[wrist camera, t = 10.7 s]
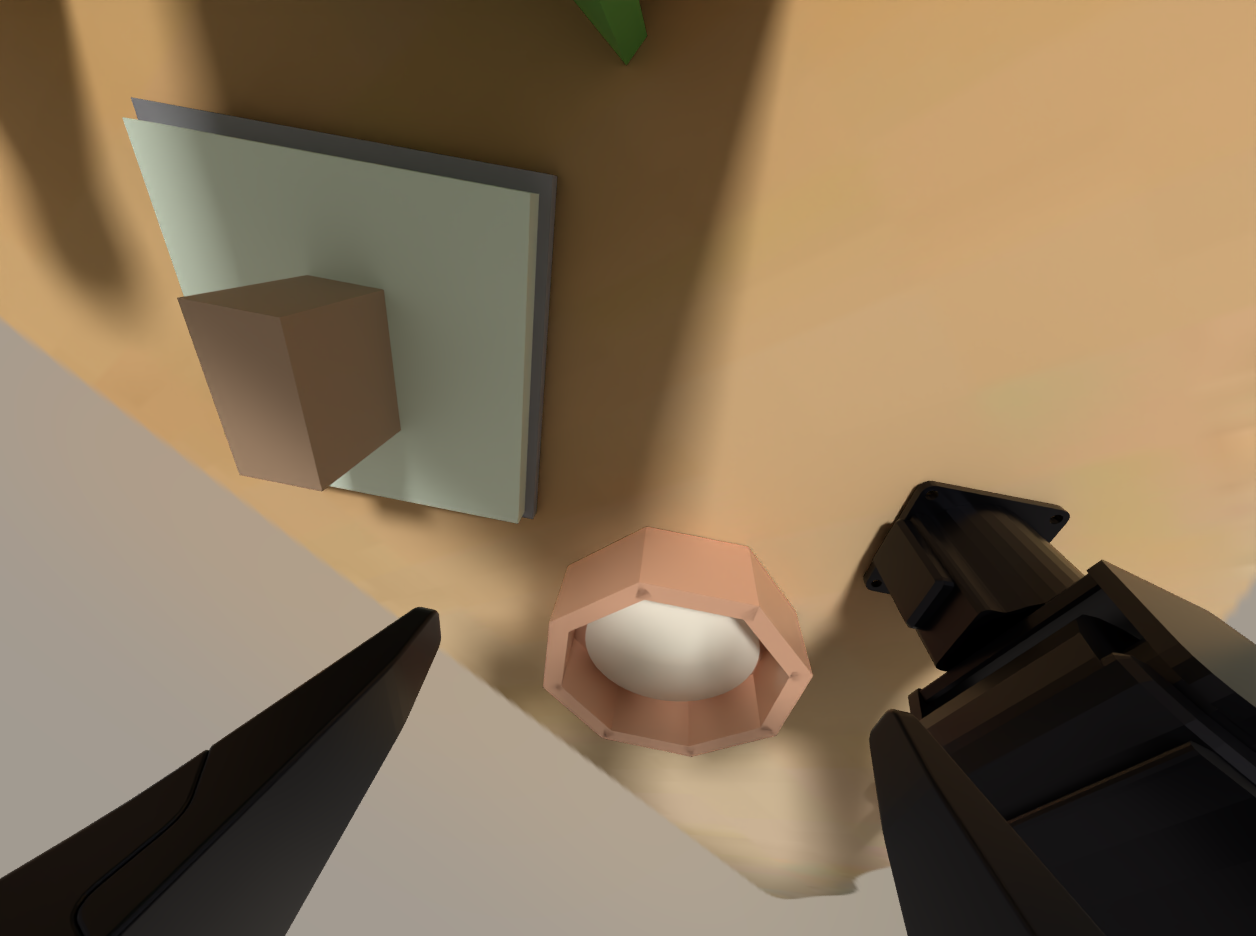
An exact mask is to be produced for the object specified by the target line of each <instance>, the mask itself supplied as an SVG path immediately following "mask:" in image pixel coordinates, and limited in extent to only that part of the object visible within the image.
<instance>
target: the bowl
mask: <svg viewBox="0 0 1256 936" xmlns="http://www.w3.org/2000/svg"><path fill="white" fill-rule="evenodd" d="M812 677H813V674H812V670H811V666H810V663H809V659H808V655H807V651H806V648H805V644H804V640H803V637H802V633H801V629H800V625H799V622H798V618H797V614H796V611H795V610H794V608H793V607H792V606H791V604H790V603H789V601H788V600H787V599H786V597H785V596H784V595H783V593H782V592H781V591H780V589H779V588H778V586H777V585H776V584H775V582H774V581H773V580H772V578H771V577H770V575H769V574H768V573H767V571H766V570H765V569H764V567H763V566H762V564H761V563H760V562H759V560H758V559H757V558H756V556H755V555H754V553H753V552H752V551H751V549H750V548H749V547H747V546H742V545H737V544H732V543H727V542H722V541H717V540H712V539H707V538H702V537H697V536H692V535H687V534H682V533H677V532H671V531H666V530H661V529H656V528H651V527H644V528H642V529H640V530H638V531H636V532H634V533H632V534H630V535H628V536H626V537H624V538H622V539H620V540H618V541H616V542H614V543H612V544H610V545H608V546H606V547H604V548H602V549H600V550H598V551H596V552H594V553H592V554H590V555H588V556H586V557H584V558H582V559H580V560H578V561H576V562H574V563H572V564H570V565H568V567H567V570H566V573H565V576H564V579H563V582H562V585H561V588H560V591H559V594H558V597H557V600H556V603H555V606H554V609H553V612H552V615H551V618H550V621H549V630H548V641H547V651H546V661H545V672H544V682H543V688H544V689H545V690H547V691H548V692H549V693H550V694H551V695H552V696H554V697H555V698H556V699H557V700H558V701H559V702H561V703H562V704H563V705H564V706H565V707H566V708H568V709H569V710H570V711H571V712H572V713H573V714H575V715H576V716H577V717H578V718H579V719H580V720H582V721H583V722H584V723H585V724H586V725H587V726H589V727H590V728H591V729H592V730H593V731H594V732H596V733H597V734H598V735H599V736H600V737H601V738H604V739H609V740H614V741H618V742H623V743H628V744H633V745H638V746H642V747H647V748H652V749H657V750H662V751H667V752H671V753H676V754H681V755H686V756H691V757H692V756H696V755H700V754H704V753H708V752H712V751H716V750H720V749H724V748H728V747H732V746H736V745H740V744H744V743H748V742H752V741H756V740H760V739H764V738H768V737H772V736H776V735H777V734H778V732H779V730H780V729H781V727H782V725H783V724H784V722H785V721H786V719H787V717H788V716H789V714H790V712H791V711H792V709H793V708H794V706H795V704H796V703H797V701H798V699H799V698H800V696H801V695H802V693H803V691H804V690H805V688H806V686H807V685H808V683H809V682H810V680H811V678H812Z"/></svg>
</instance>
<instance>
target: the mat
mask: <svg viewBox="0 0 1256 936" xmlns="http://www.w3.org/2000/svg"><path fill="white" fill-rule="evenodd" d="M131 99H132V102H133V105H134V108H135V111H136V114H137V117H138V120H142V121H148V122H154V123H160V124H165V125H171V126H176V127H181V128H187V129H192V130H197V131H203V132H208V133H214V134H219V135H224V136H230V137H235V138H241V139H246V140H251V141H257V142H262V143H267V144H273V145H278V146H284V147H289V148H294V149H300V150H305V151H310V152H316V153H321V154H327V155H332V156H337V157H343V158H348V159H354V160H359V161H364V162H370V163H375V164H380V165H386V166H391V167H397V168H402V169H407V170H413V171H418V172H424V173H429V174H434V175H440V176H445V177H450V178H456V179H461V180H467V181H472V182H477V183H483V184H488V185H494V186H499V187H504V188H510V189H515V190H520V191H526V192H531V193H537V194H539V208H538V230H537V252H536V274H535V296H534V318H533V339H532V361H531V383H530V405H529V427H528V449H527V471H526V493H525V512H524V514H523V516H522V517H524V518H529V519H533V518H534V516H535V514H536V511H537V495H538V479H539V463H540V446H541V430H542V414H543V398H544V382H545V366H546V350H547V334H548V318H549V302H550V286H551V270H552V253H553V237H554V221H555V205H556V189H557V176H555V175H550V174H545V173H539V172H534V171H528V170H523V169H517V168H512V167H507V166H501V165H496V164H490V163H485V162H479V161H474V160H469V159H463V158H458V157H452V156H447V155H441V154H436V153H431V152H425V151H420V150H414V149H409V148H403V147H398V146H393V145H387V144H382V143H376V142H371V141H365V140H360V139H355V138H349V137H344V136H338V135H333V134H327V133H322V132H316V131H311V130H306V129H300V128H295V127H289V126H284V125H278V124H273V123H268V122H262V121H257V120H251V119H246V118H240V117H235V116H230V115H224V114H219V113H213V112H208V111H202V110H197V109H192V108H186V107H181V106H175V105H170V104H164V103H159V102H154V101H148V100H143V99H137V98H132V97H131Z"/></svg>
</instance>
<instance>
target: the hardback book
mask: <svg viewBox="0 0 1256 936" xmlns="http://www.w3.org/2000/svg"><path fill="white" fill-rule="evenodd" d="M574 2H575V3H576V4H577V5H578V6H579V8H580V9H581V10H582V11H583V13H584V14H585V15H586V16H587V18H588V19H589V20H590V21H591V22H592V24H593V25H594V26H595V27H596V29H597V30H598V31H599V32H600V34H601V35H602V36H603V37H604V38H605V40H606V41H607V42H608V43H609V45H610V46H611V47H612V48H613V50H614V51H615V52H616V53H617V54H618V56H619V57H620V58H621V59H622V61H623V62H624V63H625V64H626V66H627V64H628V63H629V61H630V60H631V59H632V57H633V56H634V54H635V53H636V51H637V50H638V48H639V47H640V46H641V44H642V43H643V41H644V40H645V38H646V37H647V33H646V29H645V24H644V20H643V16H642V11H641V7H640V3H639V0H574Z"/></svg>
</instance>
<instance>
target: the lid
mask: <svg viewBox="0 0 1256 936" xmlns="http://www.w3.org/2000/svg"><path fill="white" fill-rule="evenodd" d="M122 118H123V117H122ZM123 121H124V123H125V126H126V129H127V132H128V135H129V138H130V141H131V144H132V147H133V150H134V153H135V155H136V158H137V161H138V164H139V167H140V170H141V173H142V176H143V179H144V182H145V184H146V187H147V190H148V193H149V196H150V199H151V202H152V205H153V208H154V211H155V213H156V216H157V219H158V222H159V225H160V228H161V231H162V234H163V237H164V240H165V242H166V245H167V248H168V251H169V254H170V257H171V260H172V263H173V266H174V269H175V272H176V274H177V277H178V280H179V283H180V286H181V289H182V292H183V295H184V297H179V298H177V299H178V302H179V304H180V307H181V310H182V313H183V316H184V319H185V321H186V324H187V327H188V330H189V333H190V336H191V338H192V341H193V344H194V347H195V350H196V353H197V355H198V358H199V361H200V364H201V367H202V370H203V372H204V375H205V378H206V381H207V384H208V387H209V389H210V392H211V395H212V398H213V401H214V404H215V406H216V409H217V412H218V415H219V418H220V421H221V423H222V426H223V429H224V432H225V435H226V438H227V440H228V443H229V446H230V449H231V452H232V455H233V457H234V460H235V463H236V466H237V469H238V472H239V474H240V475H242V476H247V477H252V478H257V479H262V480H267V481H272V482H277V483H282V484H287V485H292V486H297V487H302V488H307V489H312V490H317V491H323V490H325V489H326V488H327V487H328V486H332V487H337V488H342V489H347V490H352V491H357V492H362V493H367V494H372V495H377V496H382V497H387V498H392V499H397V500H402V501H407V502H412V503H417V504H422V505H427V506H432V507H437V508H442V509H447V510H452V511H457V512H462V513H467V514H472V515H477V516H482V517H487V518H492V519H497V520H502V521H507V522H512V523H517V524H518V523H519V521H520V520H521V518H522V516H523V514H524V512H525V493H526V471H527V449H528V427H529V405H530V383H531V361H532V339H533V318H534V296H535V274H536V252H537V230H538V208H539V194H537V193H531V192H526V191H520V190H515V189H510V188H504V187H499V186H494V185H488V184H483V183H477V182H472V181H467V180H461V179H456V178H450V177H445V176H440V175H434V174H429V173H424V172H418V171H413V170H407V169H402V168H397V167H391V166H386V165H380V164H375V163H370V162H364V161H359V160H354V159H348V158H343V157H337V156H332V155H327V154H321V153H316V152H310V151H305V150H300V149H294V148H289V147H284V146H278V145H273V144H267V143H262V142H257V141H251V140H246V139H241V138H235V137H230V136H224V135H219V134H214V133H208V132H203V131H197V130H192V129H187V128H181V127H176V126H171V125H165V124H160V123H154V122H148V121H142V120H136V119H130V118H123Z"/></svg>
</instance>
